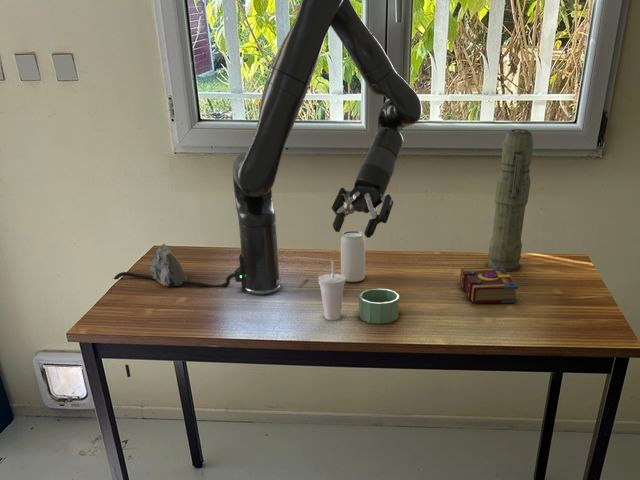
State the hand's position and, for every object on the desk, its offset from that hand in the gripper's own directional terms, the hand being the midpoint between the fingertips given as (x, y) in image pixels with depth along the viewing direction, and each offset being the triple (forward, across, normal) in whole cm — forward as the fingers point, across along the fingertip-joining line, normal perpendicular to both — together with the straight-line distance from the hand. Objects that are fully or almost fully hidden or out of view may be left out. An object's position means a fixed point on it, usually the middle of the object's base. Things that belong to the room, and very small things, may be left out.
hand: (351, 233), depth 164 cm
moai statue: (-20, +22, +46) cm, 55 cm away
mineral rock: (+20, -52, +6) cm, 56 cm away
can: (+1, -9, +24) cm, 26 cm away
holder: (+14, +9, +11) cm, 20 cm away
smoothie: (+19, 0, +6) cm, 20 cm away
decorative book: (-5, +26, +30) cm, 40 cm away
